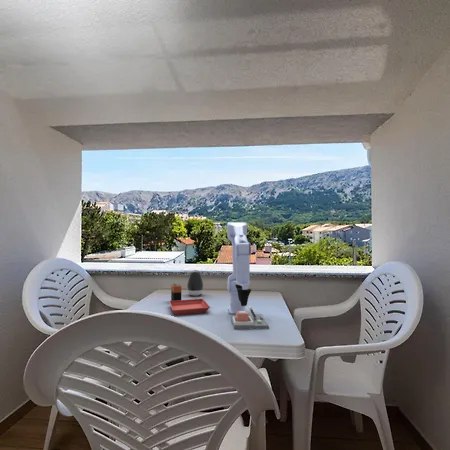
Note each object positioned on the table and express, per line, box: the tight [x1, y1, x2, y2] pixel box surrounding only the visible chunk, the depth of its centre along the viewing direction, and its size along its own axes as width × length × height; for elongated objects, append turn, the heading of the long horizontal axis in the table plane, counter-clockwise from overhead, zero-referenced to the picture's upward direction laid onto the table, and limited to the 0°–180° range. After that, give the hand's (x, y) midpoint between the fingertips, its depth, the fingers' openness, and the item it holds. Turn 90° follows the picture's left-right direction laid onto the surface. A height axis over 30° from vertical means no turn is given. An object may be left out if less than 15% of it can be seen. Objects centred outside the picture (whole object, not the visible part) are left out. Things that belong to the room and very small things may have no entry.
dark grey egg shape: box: [186, 269, 204, 297], centre depth 179 cm, size 10×10×15 cm
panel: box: [230, 313, 270, 330], centre depth 126 cm, size 16×14×2 cm
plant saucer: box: [169, 298, 211, 316], centre depth 146 cm, size 18×18×3 cm
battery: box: [170, 282, 182, 301], centre depth 163 cm, size 4×7×10 cm, turn 23°
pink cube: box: [235, 310, 249, 322], centre depth 123 cm, size 4×4×4 cm
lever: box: [248, 305, 257, 320], centre depth 127 cm, size 3×1×6 cm, turn 4°
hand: (242, 303), depth 123 cm, fingers open, 7 cm apart
